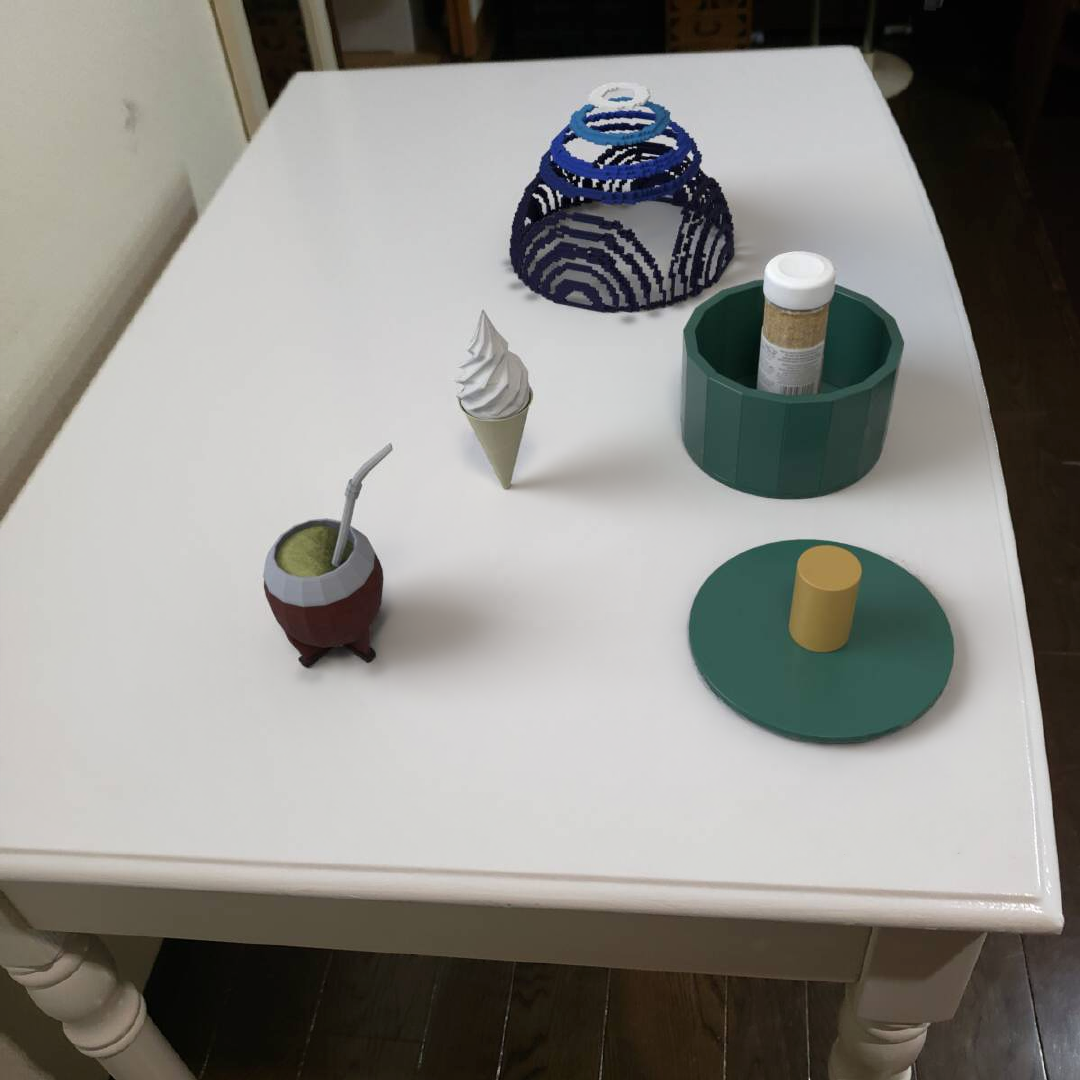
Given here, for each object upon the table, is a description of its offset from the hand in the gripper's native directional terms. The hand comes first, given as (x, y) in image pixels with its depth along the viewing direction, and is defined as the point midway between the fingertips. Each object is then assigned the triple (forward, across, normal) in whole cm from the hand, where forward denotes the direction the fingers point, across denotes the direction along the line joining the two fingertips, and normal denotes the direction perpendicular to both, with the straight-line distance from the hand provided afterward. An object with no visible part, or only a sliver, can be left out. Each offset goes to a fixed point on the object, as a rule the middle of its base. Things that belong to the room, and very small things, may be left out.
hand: (1044, 8), depth 51 cm
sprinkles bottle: (+33, +11, -7) cm, 35 cm away
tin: (+33, +11, -7) cm, 36 cm away
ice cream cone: (+34, +28, +5) cm, 44 cm away
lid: (+33, +4, +12) cm, 35 cm away
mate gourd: (+34, +32, +21) cm, 51 cm away
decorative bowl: (+34, +31, -28) cm, 54 cm away
